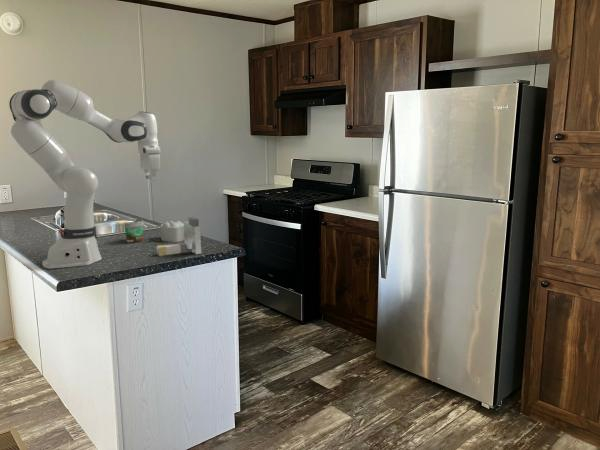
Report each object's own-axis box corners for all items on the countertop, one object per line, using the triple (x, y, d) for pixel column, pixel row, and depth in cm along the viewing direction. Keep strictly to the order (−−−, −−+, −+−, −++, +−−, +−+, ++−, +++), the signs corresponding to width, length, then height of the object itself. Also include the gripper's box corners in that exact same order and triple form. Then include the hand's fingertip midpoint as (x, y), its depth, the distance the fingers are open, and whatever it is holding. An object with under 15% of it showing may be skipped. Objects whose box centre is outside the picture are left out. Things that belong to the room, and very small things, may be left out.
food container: (137, 244, 240) (135, 223, 238) (125, 244, 242) (123, 223, 240) (149, 238, 252) (148, 219, 250) (138, 238, 253) (137, 218, 252)
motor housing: (195, 254, 221) (194, 220, 218) (184, 247, 234) (183, 215, 231) (201, 253, 223) (199, 219, 220) (190, 246, 235) (188, 214, 232)
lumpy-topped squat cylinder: (173, 242, 244) (172, 225, 242) (155, 239, 251) (154, 222, 249) (189, 238, 252) (188, 221, 250) (172, 235, 259) (171, 219, 258)
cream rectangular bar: (159, 256, 219) (158, 247, 218) (157, 254, 222) (156, 246, 221) (187, 252, 225) (187, 244, 224) (184, 250, 228) (184, 242, 228)
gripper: (135, 148, 234) (137, 178, 237) (147, 150, 217) (149, 182, 219) (149, 147, 237) (151, 177, 240) (161, 149, 220) (163, 181, 222)
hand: (150, 179), depth 229 cm, fingers open, 8 cm apart
